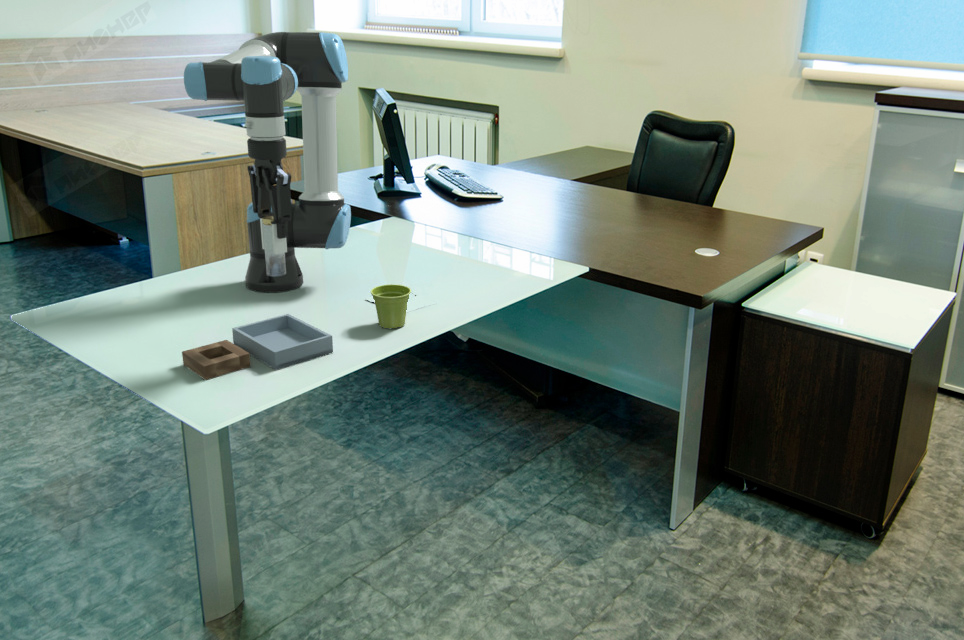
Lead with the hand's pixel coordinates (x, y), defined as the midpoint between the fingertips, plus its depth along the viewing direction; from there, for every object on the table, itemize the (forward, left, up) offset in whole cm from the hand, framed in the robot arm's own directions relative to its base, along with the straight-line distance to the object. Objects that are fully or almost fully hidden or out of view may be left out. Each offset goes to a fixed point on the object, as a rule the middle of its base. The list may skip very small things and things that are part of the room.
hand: (274, 250), depth 171 cm
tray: (0, 0, -23) cm, 23 cm away
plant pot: (-27, +4, -23) cm, 36 cm away
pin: (0, 0, -5) cm, 5 cm away
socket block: (+15, -1, -23) cm, 27 cm away
